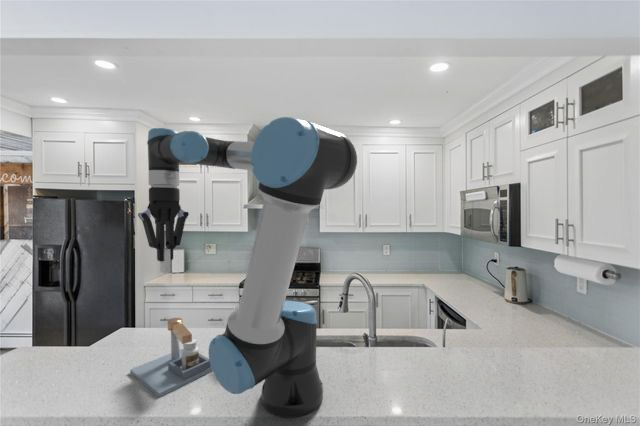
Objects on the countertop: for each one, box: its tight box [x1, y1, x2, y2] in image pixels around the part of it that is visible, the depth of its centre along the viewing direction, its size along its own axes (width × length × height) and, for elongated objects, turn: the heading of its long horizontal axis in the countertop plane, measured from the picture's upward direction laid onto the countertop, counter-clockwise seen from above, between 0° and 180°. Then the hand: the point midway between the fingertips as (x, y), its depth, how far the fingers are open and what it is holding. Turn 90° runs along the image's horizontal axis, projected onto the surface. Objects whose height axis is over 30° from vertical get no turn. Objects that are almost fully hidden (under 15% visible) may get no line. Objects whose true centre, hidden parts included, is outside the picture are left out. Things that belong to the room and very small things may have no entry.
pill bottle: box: [182, 338, 200, 370], centre depth 85 cm, size 4×4×8 cm
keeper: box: [167, 317, 193, 345], centre depth 86 cm, size 14×4×2 cm, turn 40°
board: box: [130, 331, 213, 398], centre depth 85 cm, size 17×15×10 cm
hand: (165, 272), depth 84 cm, fingers closed
